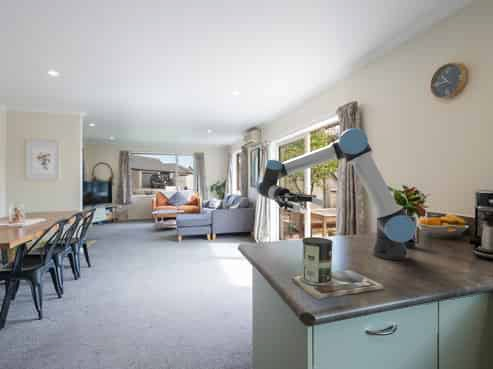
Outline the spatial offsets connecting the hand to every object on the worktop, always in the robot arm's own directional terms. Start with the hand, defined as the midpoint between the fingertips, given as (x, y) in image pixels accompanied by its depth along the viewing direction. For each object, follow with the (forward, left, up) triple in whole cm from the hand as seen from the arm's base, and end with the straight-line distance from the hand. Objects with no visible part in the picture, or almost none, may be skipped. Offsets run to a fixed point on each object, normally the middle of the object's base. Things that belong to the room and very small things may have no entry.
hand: (312, 206), depth 106 cm
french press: (-59, -49, -26) cm, 81 cm away
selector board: (-7, +14, -26) cm, 30 cm away
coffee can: (0, +15, -25) cm, 29 cm away
